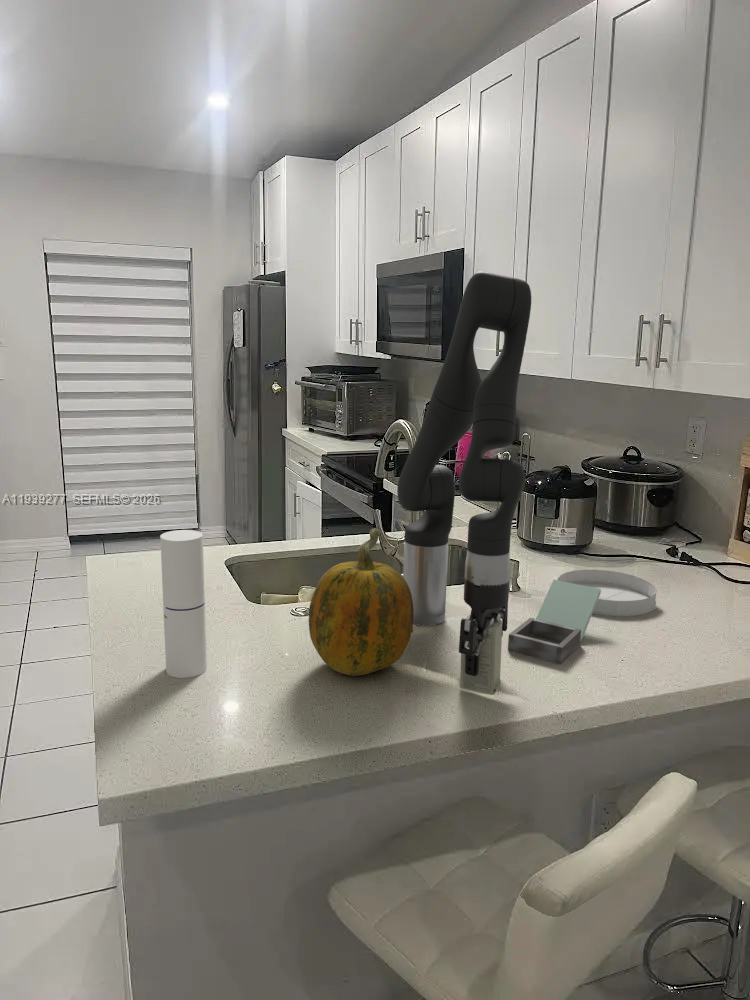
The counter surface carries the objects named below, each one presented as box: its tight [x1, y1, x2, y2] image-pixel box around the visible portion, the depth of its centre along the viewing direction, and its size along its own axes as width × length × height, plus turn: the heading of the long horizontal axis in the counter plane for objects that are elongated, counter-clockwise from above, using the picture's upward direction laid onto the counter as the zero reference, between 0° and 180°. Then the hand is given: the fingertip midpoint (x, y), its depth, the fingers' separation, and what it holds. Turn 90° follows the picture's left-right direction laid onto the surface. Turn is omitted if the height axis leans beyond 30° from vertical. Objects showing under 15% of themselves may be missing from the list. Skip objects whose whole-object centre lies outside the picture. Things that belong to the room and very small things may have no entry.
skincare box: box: [459, 615, 503, 696], centre depth 130 cm, size 6×4×12 cm
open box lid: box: [535, 579, 601, 644], centre depth 154 cm, size 10×13×1 cm
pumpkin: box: [308, 527, 414, 677], centre depth 135 cm, size 19×19×25 cm
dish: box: [557, 569, 657, 617], centre depth 173 cm, size 22×22×5 cm
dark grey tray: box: [507, 617, 581, 665], centre depth 150 cm, size 20×28×4 cm
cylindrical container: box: [159, 529, 208, 679], centre depth 133 cm, size 7×7×25 cm
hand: (482, 665), depth 130 cm, fingers open, 8 cm apart
